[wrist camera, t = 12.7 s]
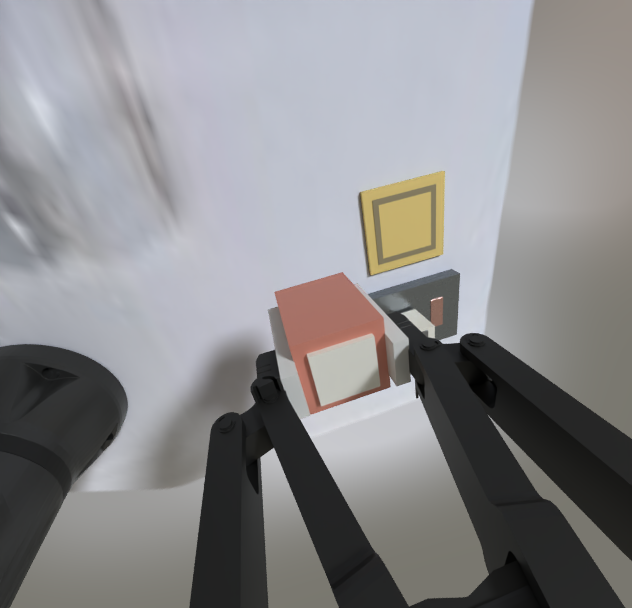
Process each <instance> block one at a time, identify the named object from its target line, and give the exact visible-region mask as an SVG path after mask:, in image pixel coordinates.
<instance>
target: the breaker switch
mask: <svg viewBox="0 0 632 608" xmlns="http://www.w3.org/2000/svg"><path fill="white" fill-rule="evenodd" d="M401 314H403V315H405V316H406V317H407V318H408V319H409V321H411V322H412V323H413V325H415V326H416V327H417V328H418V329H419V330H420V331H421V332H422V333H423V334H424V335H425V336H426V337H430V338H435V326H434V325H433V324H432V323H431V322H430V321H428V320H427V319H426V318H425V317H424V316H423V315H422V314H420V313H419V312H418V311H417V310H416V309H413V310H410V311H407V312H404V313H401Z"/></svg>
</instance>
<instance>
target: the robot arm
mask: <svg viewBox="0 0 632 608" xmlns="http://www.w3.org/2000/svg"><path fill="white" fill-rule="evenodd" d="M354 286H355V287H356V288H357V289H358V290H359V291H360V292H361V293H362V294H363V295H364V297H365V298H366V299H367V300H368V301H369V302H370V303H371V304H372V305H373V306H374V308H375V309H376V310H377V311H378V312H379V313H380V314H381V315H382V316H383V317H384V327H385V343H386V353H387V363H388V373H389V376H390V377H391V379H392V380H393V382H394V383H395V385H396V386H399V385H402V384H405V383H408V382H411V377H410V373H411V375H412V376H413V377H414V378H415V389H416V398H418V394H419V396H420V398H421V401H422V403H423V406H424V408H425V410H426V413H427V415H428V418H429V420H430V423H431V425H432V427H433V430H434V432H435V434H436V437H437V439H438V442H439V444H440V446H441V449H442V451H443V454H444V456H445V459H446V461H447V463H448V466H449V468H450V471H451V473H452V475H453V478H454V480H455V483H456V485H457V488H458V490H459V492H460V495H461V497H462V500H463V502H464V504H465V507H466V509H467V512H468V514H469V516H470V519H471V521H472V523H473V526H474V528H475V531H476V533H477V536H478V538H479V540H480V543H481V546H482V550H483V555H484V559H485V563H486V567H487V570H488V573H489V576H488V577H487V578H486V579H485V580H484V581H483V582H482V583H481V584H480V585H479V586H478V587H477V588H476V589H475V590H474V591H473V592H472V593H471V595H469V596H468V597H463V598H436V599H435V598H434V599H426V600H424V601H421V602H419V603H417V604H414V605H412V606H410V607H409V606H408V604H407V603H406V601H405V599H404V597H403V596H402V594H401V592H400V590H399V589H398V587H397V585H396V583H395V582H394V580H393V578H392V576H391V575H390V573H389V571H388V570H387V568H386V566H385V564H384V563H383V561H382V560H381V558H380V557H379V555H378V554H377V553H375V551H374V550H373V548H372V547H371V545H370V543H369V541H368V540H367V538H366V536H365V534H364V533H363V531H362V529H361V527H360V525H359V524H358V522H357V520H356V518H355V517H354V515H353V513H352V511H351V509H350V508H349V506H348V504H347V502H346V501H345V499H344V497H343V495H342V493H341V492H340V490H339V489H338V486H337V485H336V483H335V481H334V479H333V477H332V476H331V474H330V472H329V470H328V469H327V467H326V465H325V463H324V461H323V460H322V458H321V456H320V455H319V453H318V451H317V449H316V447H315V445H314V444H313V442H312V440H311V438H310V436H309V435H308V433H307V431H306V429H305V428H304V426H303V424H302V422H301V420H300V419H302V418H305V417H308V416H310V412H309V408H308V405H307V401H306V398H305V395H304V392H303V388H302V385H301V382H300V379H299V376H298V372H297V369H296V366H295V363H294V361H293V358H292V355H291V351H290V348H289V345H288V341H287V337H286V334H285V330H284V326H283V322H282V319H281V315H280V311H279V307H275V308H272V309H268V313H269V319H270V324H271V330H272V335H273V340H274V346H275V350H273V351H270V352H266V353H263V354H260V355H259V356H258V358H257V361H256V368H257V379H256V380H255V381H254V382H253V383H252V385H251V393H252V395H253V398H254V400H255V402H256V403H255V404H254V406H253V407H252V408H250V409H249V410H248V411H246V412H245V413H243V414H241V415H239V414H238V413H234V412H231V413H227V414H224V415H222V416H221V417H220V418H218V419H217V420H216V421H215V423H214V424H213V426H212V429H211V434H210V442H209V450H208V459H207V467H206V475H205V483H204V492H203V500H202V509H201V516H200V525H199V533H198V542H197V550H196V558H195V566H194V574H193V582H192V591H191V599H190V608H268V592H267V574H266V555H265V538H264V537H265V536H264V518H263V499H262V481H261V462H260V457H261V456H263V455H264V454H265V453H267V452H268V451H270V450H271V449H273V448H274V449H275V451H276V453H277V456H278V458H279V461H280V463H281V466H282V468H283V470H284V473H285V475H286V478H287V480H288V483H289V485H290V488H291V490H292V492H293V495H294V497H295V500H296V502H297V505H298V507H299V510H300V512H301V515H302V517H303V519H304V522H305V524H306V527H307V529H308V532H309V534H310V537H311V539H312V541H313V544H314V546H315V549H316V551H317V554H318V556H319V558H320V561H321V563H322V566H323V568H324V570H325V573H326V576H327V578H328V580H329V583H330V586H331V588H332V591H333V593H334V596H335V599H336V601H337V604H338V606H339V608H625V607H624V605H623V604H622V602H621V601H620V599H619V598H618V596H617V595H616V593H615V592H614V590H613V589H612V587H611V586H610V584H609V583H608V581H607V580H606V579H605V577H604V575H603V574H602V573H601V571H600V569H599V568H598V566H597V565H596V564H595V562H594V560H593V559H592V557H591V556H590V554H589V553H588V552H587V550H586V548H585V547H584V546H583V544H582V543H581V541H580V539H579V538H578V537H577V535H576V533H575V532H574V530H573V529H572V527H571V526H570V524H569V523H568V521H567V520H566V519H565V517H564V516H563V514H562V513H561V512H560V510H559V509H558V508H557V507H556V506H555V505H554V504H553V503H552V502H551V501H548V500H546V499H543V498H542V497H541V496H540V495H539V494H538V493H537V491H536V490H535V489H534V487H533V486H532V484H531V482H530V481H529V479H528V478H527V476H526V474H525V473H524V471H523V470H522V468H521V467H520V465H519V463H518V462H517V460H516V459H515V457H514V455H513V454H512V452H511V451H510V449H509V448H508V446H507V445H506V443H505V441H504V440H503V438H502V437H501V435H500V433H499V432H498V430H497V429H496V427H495V426H494V424H493V422H492V421H491V419H490V418H489V416H490V417H491V418H492V419H493V420H494V421H495V422H496V424H497V425H499V426H500V427H501V429H502V430H503V431H504V432H505V433H506V434H507V435H508V436H509V437H510V438H511V439H513V441H514V442H515V443H516V444H517V445H518V446H519V447H520V448H521V449H522V450H523V451H524V452H525V453H526V454H527V455H528V456H529V457H530V458H531V459H532V460H533V461H534V462H535V463H536V464H537V465H538V466H539V467H540V468H541V469H542V470H543V471H544V472H545V473H546V474H547V476H549V478H550V479H551V480H552V481H554V483H555V484H556V485H557V486H558V487H559V488H560V489H561V490H562V491H563V492H564V493H565V494H566V495H567V496H568V497H569V498H570V499H571V500H572V501H573V502H574V503H575V504H576V505H577V506H578V507H579V508H580V509H581V510H582V511H583V512H584V513H585V514H586V515H587V516H588V517H589V518H590V519H591V520H592V521H593V522H594V523H595V524H596V525H597V526H598V527H599V528H600V530H602V532H603V533H604V534H605V535H606V536H607V537H608V538H609V539H610V540H611V541H612V542H613V543H614V544H615V545H616V546H617V547H618V548H619V549H620V550H621V551H622V552H623V553H624V554H625V555H626V556H627V557H628V558H629V559H630V560H632V439H631V438H630V437H628V436H627V435H625V434H624V433H622V432H621V431H620V430H618V429H617V428H615V427H614V426H612V425H611V424H610V423H608V422H607V421H605V420H604V419H603V418H601V417H600V416H598V415H597V414H596V413H594V412H593V411H591V410H590V409H589V408H587V407H586V406H584V405H583V404H582V403H580V402H579V401H577V400H576V399H575V398H573V397H572V396H570V395H569V394H568V393H566V392H564V391H563V390H562V389H560V388H559V387H558V386H556V385H555V384H553V383H552V382H551V381H549V380H548V379H546V378H545V377H544V376H542V375H541V374H539V373H538V372H536V371H535V370H534V369H532V368H531V367H530V366H528V365H526V364H525V363H524V362H522V361H521V360H520V359H518V358H517V357H515V356H514V355H513V354H511V353H510V352H508V351H507V350H506V349H504V348H503V347H501V346H500V345H499V344H497V343H496V342H494V341H493V340H491V339H490V338H489V337H487V336H485V335H482V334H478V333H470V334H466V335H464V336H462V337H461V339H460V343H453V344H442V343H441V342H440V341H439V340H437V339H435V338H430V337H426V336H425V335H424V334H423V333H422V332H421V331H420V330H419V329H418V328H417V327H416V326H415V325H413V323H412V322H411V321H409V319H408V318H407V317H406V316H405V315H403V314H401V313H398V312H394V313H390V314H387V315H386V314H385V313H384V311H383V310H382V309H381V308H380V307H379V306H378V305H377V304H376V303H375V302H374V301H373V300H372V299H371V297H370V296H369V295H368V294H367V293H366V292H365V291H364V290H363V289H362V288H361V287H360V286H359V285H358V283H357V284H354ZM127 408H128V402H127V396H126V393H125V391H124V389H123V387H122V385H121V384H120V382H119V381H118V379H117V378H116V377H115V376H114V375H113V374H112V373H111V372H110V371H109V370H107V369H106V368H105V367H103V366H102V365H101V364H99V363H97V362H96V361H94V360H92V359H90V358H88V357H86V356H84V355H81V354H79V353H76V352H73V351H70V350H66V349H62V348H58V347H53V346H46V345H33V344H22V345H10V346H4V347H0V608H9V607H10V606H11V604H12V602H13V600H14V598H15V596H16V594H17V592H18V590H19V588H20V586H21V584H22V582H23V580H24V578H25V576H26V574H27V572H28V570H29V568H30V566H31V564H32V562H33V560H34V558H35V556H36V554H37V552H38V550H39V548H40V546H41V544H42V543H43V541H44V539H45V537H46V535H47V533H48V531H49V529H50V527H51V525H52V523H53V521H54V519H55V517H56V515H57V513H58V511H59V509H60V507H61V505H62V503H63V501H64V499H65V497H66V495H67V493H68V492H69V490H70V488H71V486H72V484H73V483H74V482H75V481H76V480H77V479H78V478H79V477H80V476H81V475H82V474H83V473H84V472H85V471H86V470H87V468H88V467H89V466H90V465H91V464H92V463H93V462H94V461H95V460H96V459H97V458H98V457H99V456H100V454H101V453H102V452H103V451H104V450H105V449H106V448H107V447H108V446H109V445H110V444H111V443H112V441H113V440H114V439H115V437H116V436H117V434H118V432H119V430H120V428H121V426H122V423H123V421H124V419H125V416H126V413H127ZM487 414H488V415H489V416H488V415H487Z"/></svg>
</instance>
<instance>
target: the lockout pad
mask: <svg viewBox="0 0 632 608" xmlns="http://www.w3.org/2000/svg"><path fill="white" fill-rule="evenodd" d="M444 187H445V171H441V172H437V173H433V174H429V175H425V176H421V177H417V178H413V179H409V180H406V181H402V182H398V183H394V184H390V185H386V186H382V187H378V188H374V189H370V190H367V191H363V192H360V195H361V204H362V212H363V221H364V230H365V238H366V247H367V255H368V264H369V272H370V275H374V274H377V273H381V272H384V271H387V270H391V269H394V268H398V267H401V266H405V265H408V264H411V263H415V262H418V261H422V260H425V259H429V258H432V257H436V256H439V255H442V254H443V236H444Z"/></svg>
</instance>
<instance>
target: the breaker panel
mask: <svg viewBox="0 0 632 608" xmlns="http://www.w3.org/2000/svg"><path fill="white" fill-rule="evenodd" d="M459 282H460V273H458V272H456V271H454V270H452V269H451V270H447V271H444V272H441V273H437V274H434V275H431V276H427V277H424V278H421V279H417V280H414V281H410V282H407V283H404V284H400V285H397V286H394V287H390V288H387V289H384V290H380V291H377V292H374V293H370V294H368V295H369V296H370V297H371V299H372V300H373V301H374V302H375V303H376V304H377V305H378V306H379V307H380V308H381V309H382V310H383V311H384V313H385V314H386V315H387V314H390V313H394V312H398V313H404V312H407V311H410V310H413V309H416V310H417V311H418V312H419V313H420V314H422V315H423V316H424V317H425V318H426V319H427V320H428V321H430V322H431V323H432V324H433V325H434V326H435V339H437V340H441V339H444V338H447V337H450V336H453V335H456V334H457V320H458V301H459Z"/></svg>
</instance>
